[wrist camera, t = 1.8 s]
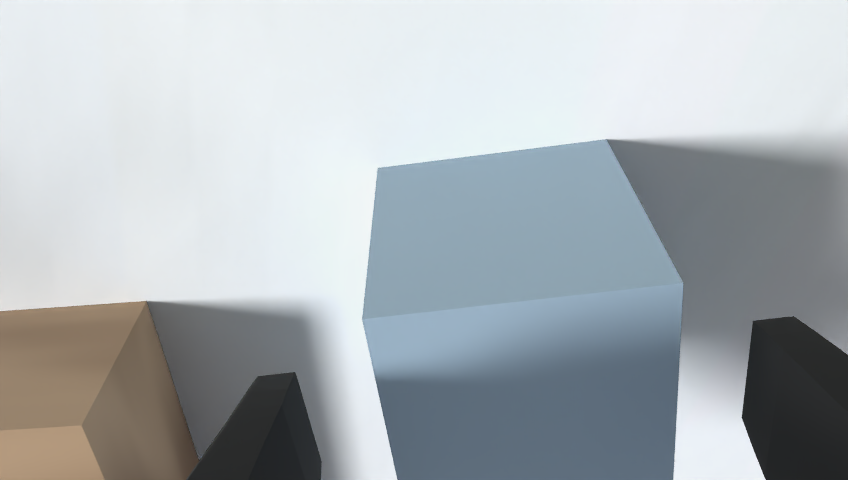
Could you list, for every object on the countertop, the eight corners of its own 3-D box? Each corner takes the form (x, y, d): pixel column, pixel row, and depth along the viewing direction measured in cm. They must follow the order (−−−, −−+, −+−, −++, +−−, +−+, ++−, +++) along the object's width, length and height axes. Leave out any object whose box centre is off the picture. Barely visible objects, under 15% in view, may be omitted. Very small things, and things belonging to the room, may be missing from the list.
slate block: (607, 321, 17) (672, 501, 13) (410, 343, 17) (408, 526, 13) (605, 138, 15) (683, 282, 10) (377, 166, 15) (362, 318, 11)
